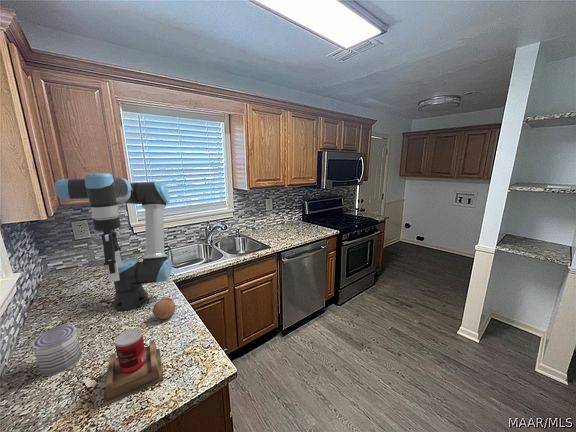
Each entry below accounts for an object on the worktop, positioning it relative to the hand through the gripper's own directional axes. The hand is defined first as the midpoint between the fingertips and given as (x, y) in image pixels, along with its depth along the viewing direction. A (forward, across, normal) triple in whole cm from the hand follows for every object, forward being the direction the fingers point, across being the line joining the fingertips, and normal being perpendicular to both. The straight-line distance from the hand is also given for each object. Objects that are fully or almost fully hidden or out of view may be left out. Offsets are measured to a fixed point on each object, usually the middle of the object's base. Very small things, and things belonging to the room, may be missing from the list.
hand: (116, 273), depth 86 cm
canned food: (+28, +16, +2) cm, 32 cm away
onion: (+32, -14, +14) cm, 38 cm away
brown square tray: (+32, +16, +2) cm, 36 cm away
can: (+32, -5, -21) cm, 39 cm away
